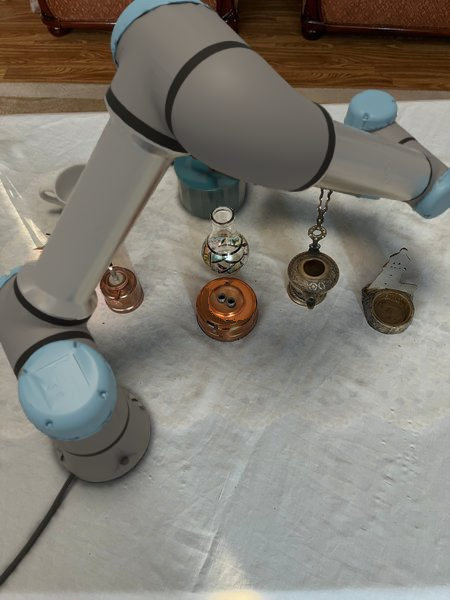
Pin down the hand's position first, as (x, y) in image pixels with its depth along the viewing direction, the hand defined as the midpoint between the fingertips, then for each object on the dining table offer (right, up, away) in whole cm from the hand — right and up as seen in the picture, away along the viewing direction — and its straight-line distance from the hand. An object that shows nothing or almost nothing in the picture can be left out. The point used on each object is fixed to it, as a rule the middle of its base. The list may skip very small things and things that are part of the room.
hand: (182, 136), depth 99 cm
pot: (+5, -9, +11) cm, 15 cm away
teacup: (-22, -12, +10) cm, 27 cm away
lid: (+5, -4, +4) cm, 8 cm away
